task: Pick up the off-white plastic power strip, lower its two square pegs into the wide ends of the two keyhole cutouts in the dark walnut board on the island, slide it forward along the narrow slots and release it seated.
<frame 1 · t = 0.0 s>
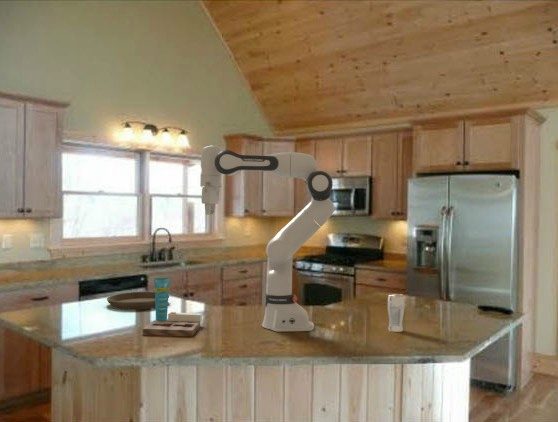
hand: (210, 214, 207), 48 cm above the countertop, tool pointing down, fingers open, 8 cm apart
beer glass: (395, 330, 202), on the countertop
power strip: (185, 325, 204), on the countertop
keyhole board: (172, 331, 195), on the countertop
tube: (161, 320, 214), on the countertop
plant saucer: (138, 305, 246), on the countertop
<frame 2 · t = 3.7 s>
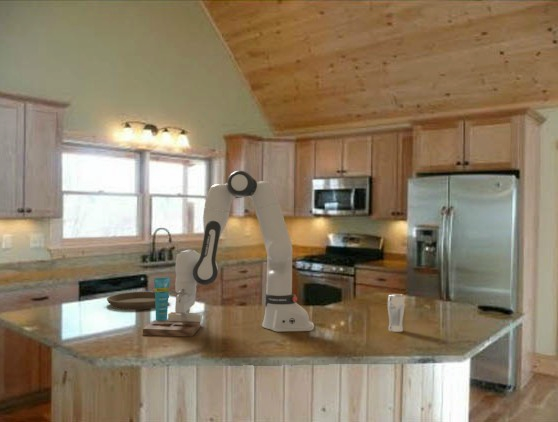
hand: (185, 319, 204), 3 cm above the countertop, tool pointing down, fingers closed on power strip, 3 cm apart
power strip: (185, 325, 204), on the countertop, touching gripper
everything else where it was.
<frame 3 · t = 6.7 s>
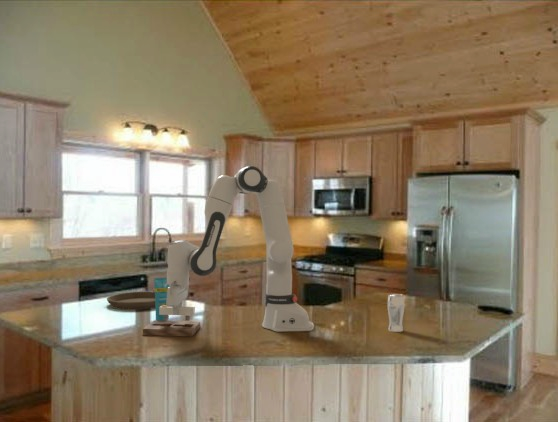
hand: (177, 313, 195), 7 cm above the countertop, tool pointing down, fingers closed on power strip, 3 cm apart
power strip: (176, 319, 195), point 5 cm above the countertop, touching gripper
everything else where it was.
when the fingers open (3 cm above the countertop, at t = 9.9 s): power strip stays where it is, resting on keyhole board.
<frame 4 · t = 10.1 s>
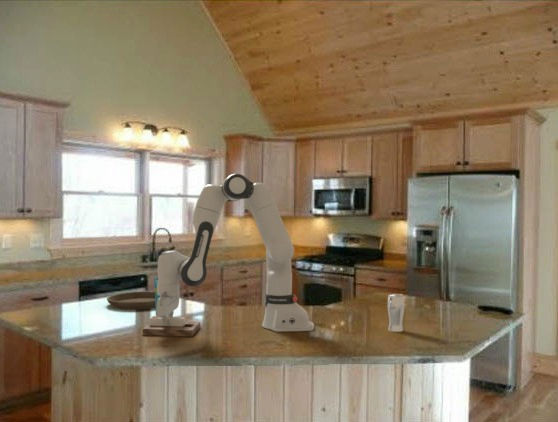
hand: (167, 323, 195), 3 cm above the countertop, tool pointing down, fingers open, 5 cm apart
power strip: (167, 330, 195), resting on keyhole board
everything else where it was.
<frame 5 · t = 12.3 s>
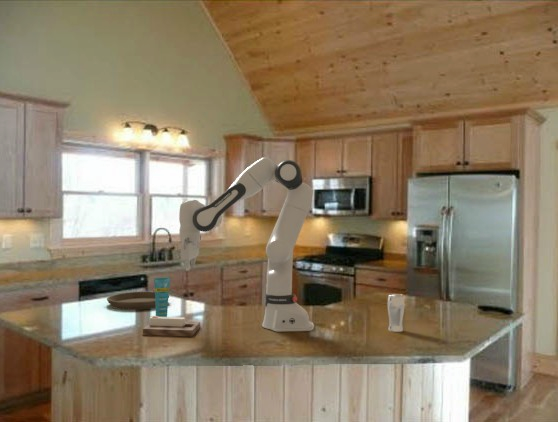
hand: (190, 269, 207), 24 cm above the countertop, tool pointing down, fingers open, 8 cm apart
nothing on the countertop moved.
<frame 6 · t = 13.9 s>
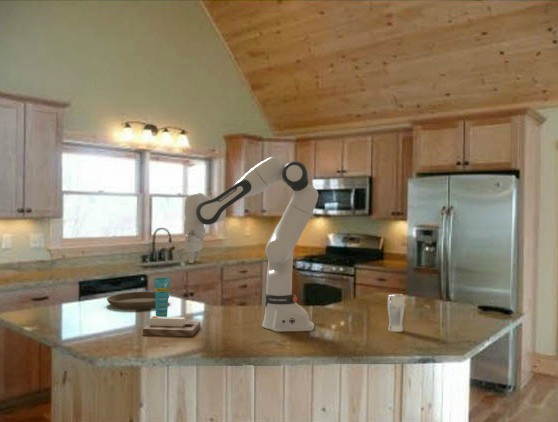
hand: (193, 261, 210), 27 cm above the countertop, tool pointing down, fingers open, 8 cm apart
nothing on the countertop moved.
at the end: power strip tilted 0°; the gripper is holding nothing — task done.
